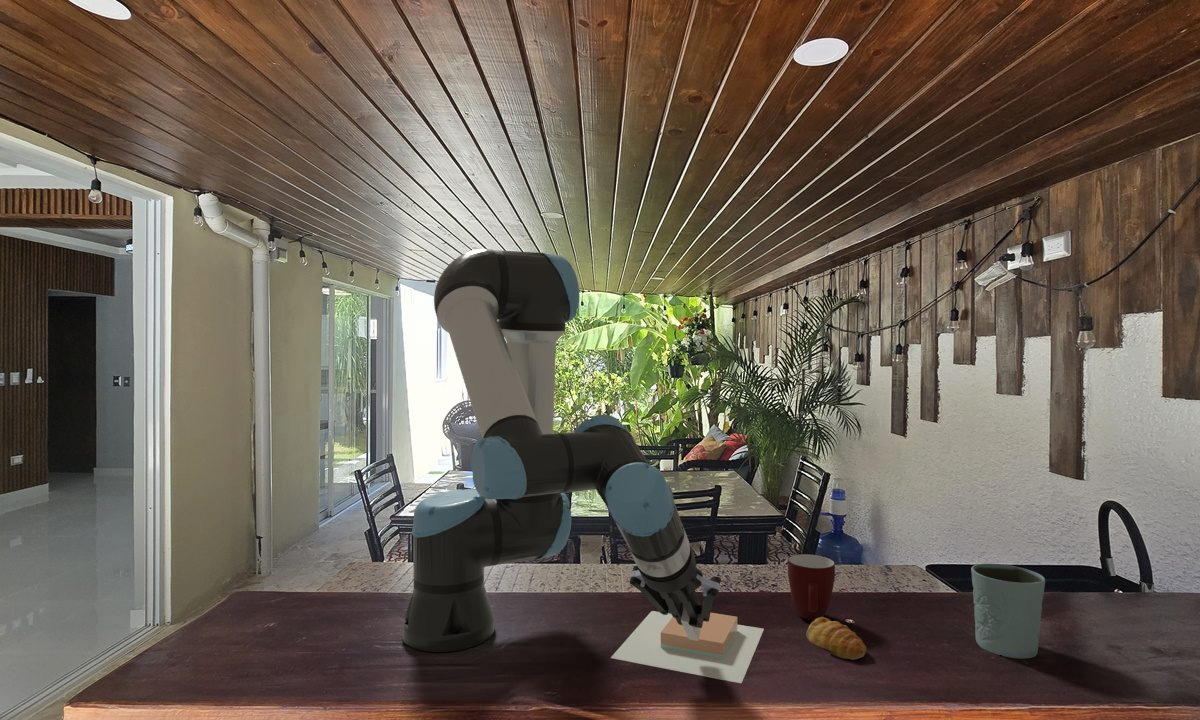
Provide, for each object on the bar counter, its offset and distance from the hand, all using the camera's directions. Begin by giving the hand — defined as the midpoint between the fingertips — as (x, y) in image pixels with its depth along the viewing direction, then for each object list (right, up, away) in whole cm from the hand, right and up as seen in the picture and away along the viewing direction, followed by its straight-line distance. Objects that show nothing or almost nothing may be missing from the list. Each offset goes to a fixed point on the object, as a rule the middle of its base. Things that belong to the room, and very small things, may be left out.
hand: (695, 631), depth 102 cm
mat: (0, -4, +5) cm, 6 cm away
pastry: (+23, -5, +5) cm, 24 cm away
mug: (+23, -4, +16) cm, 28 cm away
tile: (0, -3, +1) cm, 3 cm away
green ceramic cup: (+51, -5, +5) cm, 51 cm away
